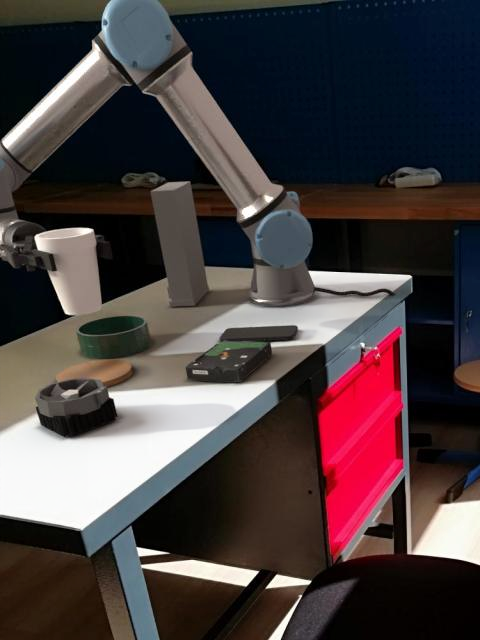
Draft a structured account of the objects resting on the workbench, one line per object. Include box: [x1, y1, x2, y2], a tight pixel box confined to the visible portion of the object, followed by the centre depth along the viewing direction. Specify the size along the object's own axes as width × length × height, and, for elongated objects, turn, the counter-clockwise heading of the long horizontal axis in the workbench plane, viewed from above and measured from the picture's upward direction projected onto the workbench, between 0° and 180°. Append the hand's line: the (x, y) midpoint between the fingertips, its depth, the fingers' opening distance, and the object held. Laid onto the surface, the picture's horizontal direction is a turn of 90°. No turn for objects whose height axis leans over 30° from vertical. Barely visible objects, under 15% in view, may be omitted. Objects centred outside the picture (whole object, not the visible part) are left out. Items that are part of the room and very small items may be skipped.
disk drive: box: [184, 340, 273, 383], centre depth 137 cm, size 10×3×15 cm
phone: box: [219, 324, 299, 343], centre depth 153 cm, size 7×1×15 cm
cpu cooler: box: [34, 378, 118, 438], centre depth 118 cm, size 10×6×10 cm
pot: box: [75, 314, 152, 360], centre depth 150 cm, size 13×13×4 cm
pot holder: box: [55, 359, 133, 388], centre depth 137 cm, size 13×13×1 cm
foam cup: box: [35, 227, 103, 316], centre depth 131 cm, size 10×9×13 cm
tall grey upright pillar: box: [150, 180, 210, 308], centre depth 175 cm, size 14×6×25 cm, turn 178°
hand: (81, 256), depth 127 cm, fingers closed on foam cup, 9 cm apart
